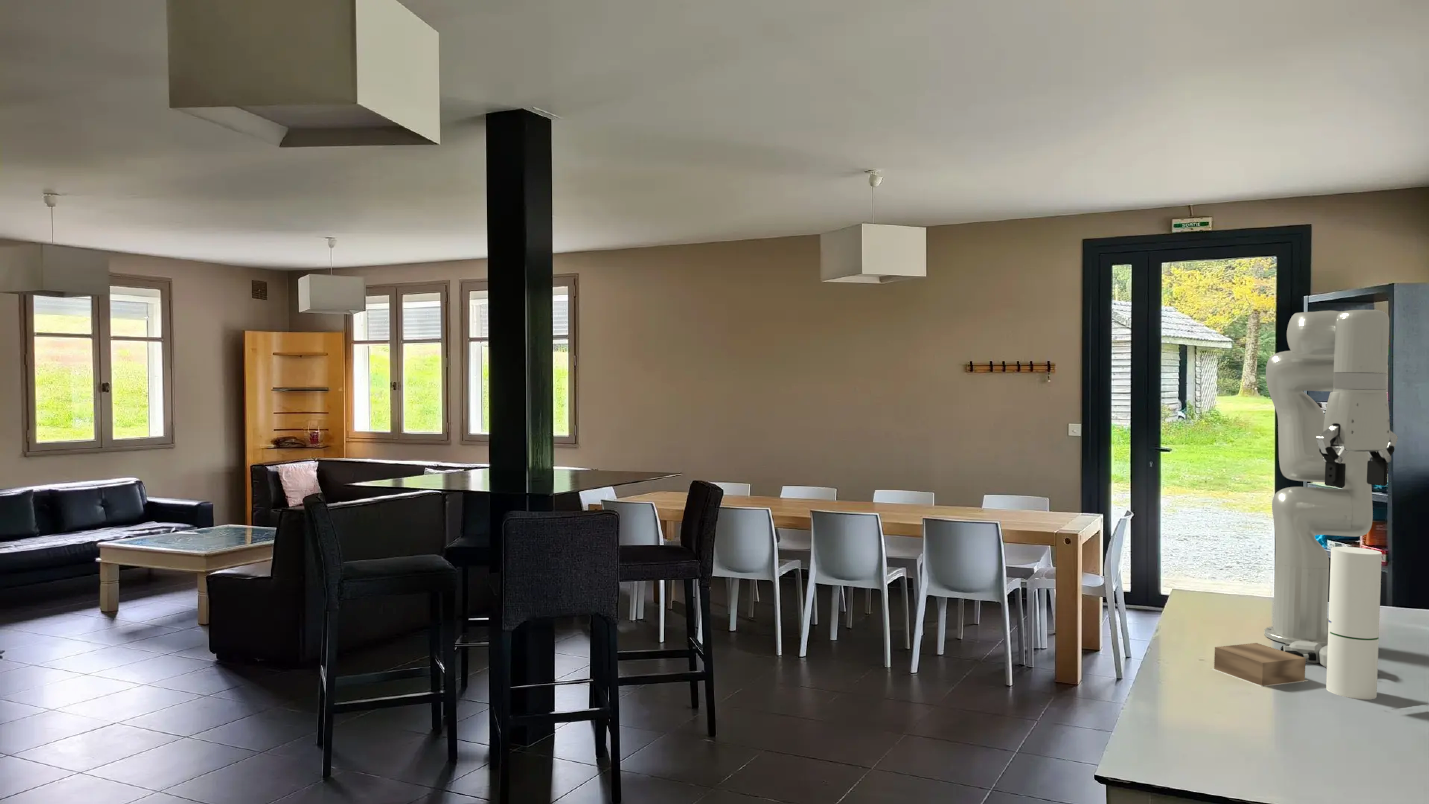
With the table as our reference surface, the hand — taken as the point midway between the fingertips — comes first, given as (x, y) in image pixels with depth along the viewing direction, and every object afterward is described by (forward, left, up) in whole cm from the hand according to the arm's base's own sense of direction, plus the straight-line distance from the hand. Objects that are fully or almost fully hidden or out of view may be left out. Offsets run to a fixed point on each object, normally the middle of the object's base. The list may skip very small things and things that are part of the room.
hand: (1355, 485), depth 163 cm
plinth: (+7, -12, -35) cm, 38 cm away
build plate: (+7, -12, -36) cm, 38 cm away
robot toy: (-12, -14, -36) cm, 41 cm away
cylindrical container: (0, 0, -36) cm, 36 cm away
